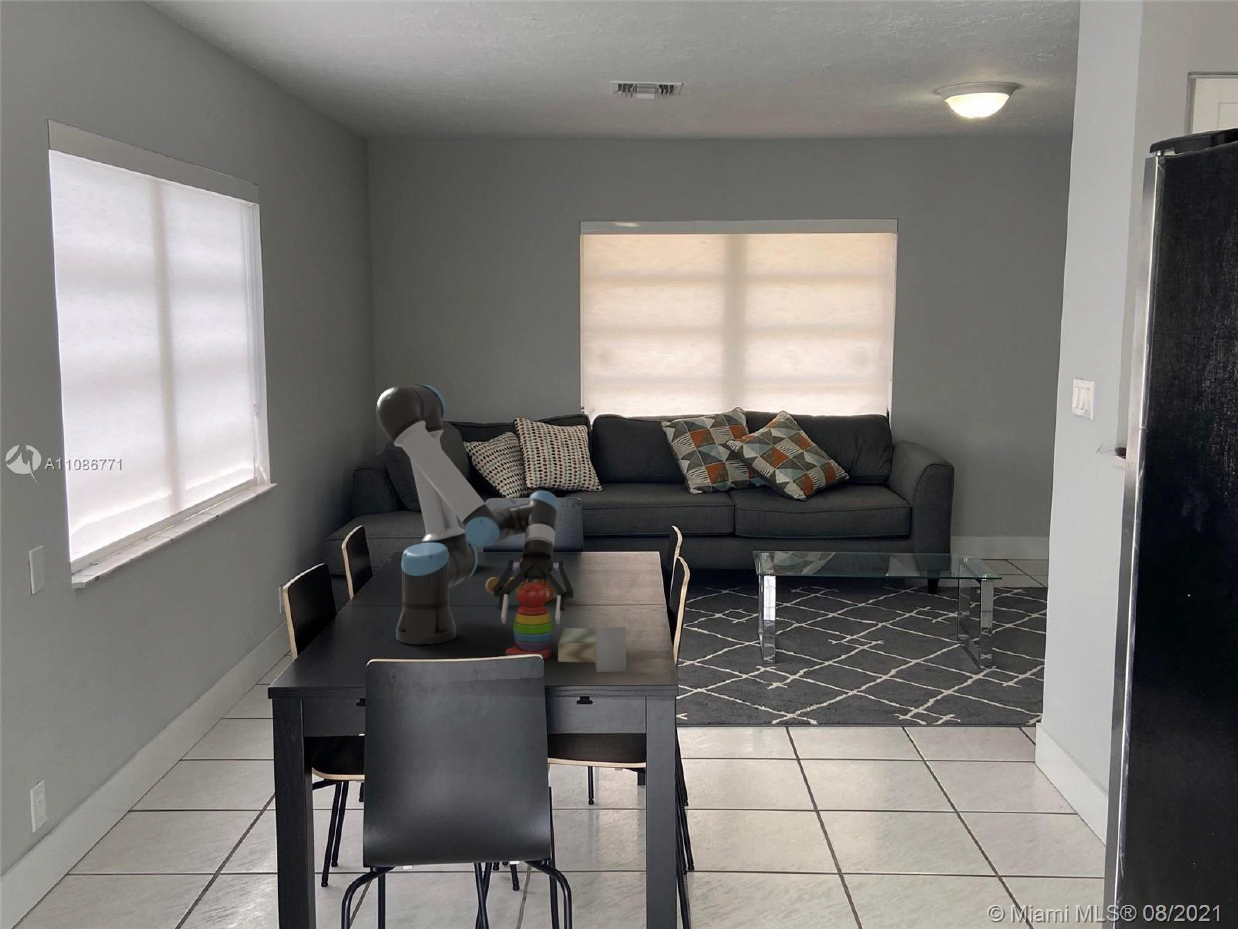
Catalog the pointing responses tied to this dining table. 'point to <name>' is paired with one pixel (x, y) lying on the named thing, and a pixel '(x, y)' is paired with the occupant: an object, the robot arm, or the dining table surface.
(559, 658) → the base block
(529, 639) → the stacking bear
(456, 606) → the dining table surface
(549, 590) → the toy helicopter
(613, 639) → the white printed cardboard box
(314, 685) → the dining table surface
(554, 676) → the dining table surface
